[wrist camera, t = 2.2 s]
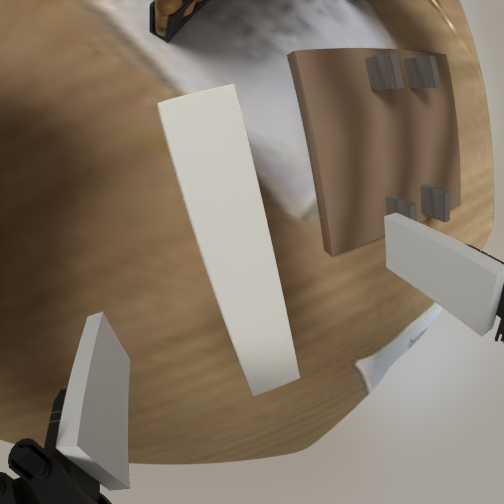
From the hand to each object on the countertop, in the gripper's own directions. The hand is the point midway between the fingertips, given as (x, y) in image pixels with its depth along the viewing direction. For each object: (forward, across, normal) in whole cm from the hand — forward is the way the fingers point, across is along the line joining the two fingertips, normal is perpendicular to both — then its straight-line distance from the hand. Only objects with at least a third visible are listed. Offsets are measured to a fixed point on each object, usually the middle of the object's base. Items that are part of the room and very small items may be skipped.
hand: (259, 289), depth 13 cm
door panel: (+13, 0, 0) cm, 13 cm away
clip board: (+13, +19, +2) cm, 23 cm away
